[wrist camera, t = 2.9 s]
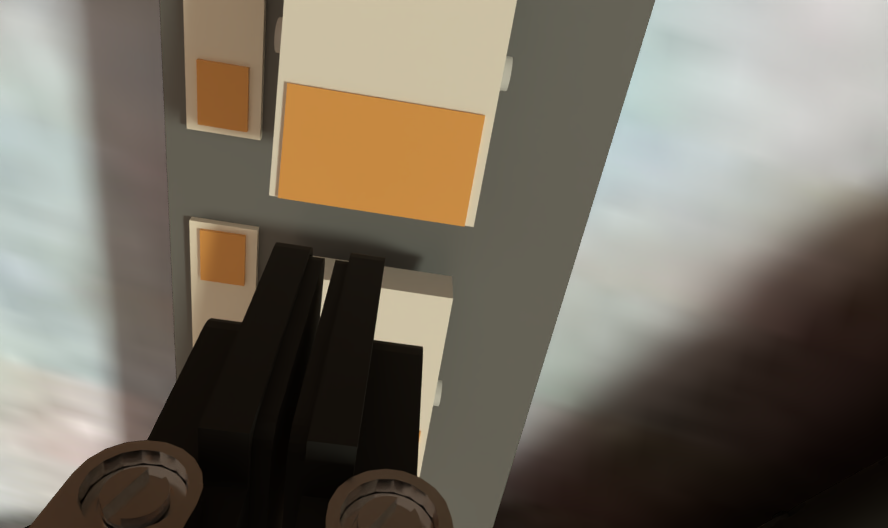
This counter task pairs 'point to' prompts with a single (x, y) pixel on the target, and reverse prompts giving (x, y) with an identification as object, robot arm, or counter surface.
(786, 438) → the counter surface
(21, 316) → the counter surface
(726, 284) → the counter surface
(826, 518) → the muzzle brake
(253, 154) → the switch unit
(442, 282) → the switch middle
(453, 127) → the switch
